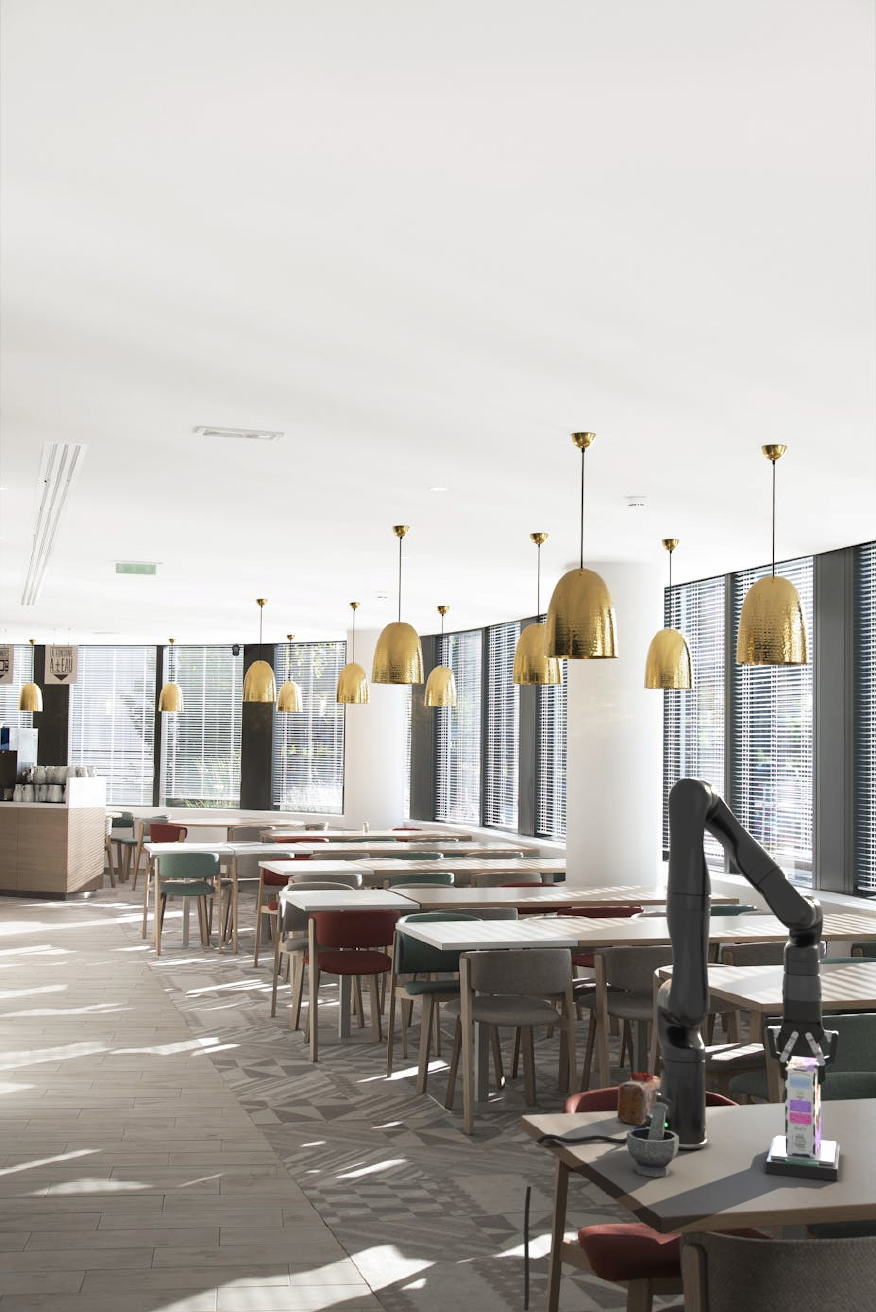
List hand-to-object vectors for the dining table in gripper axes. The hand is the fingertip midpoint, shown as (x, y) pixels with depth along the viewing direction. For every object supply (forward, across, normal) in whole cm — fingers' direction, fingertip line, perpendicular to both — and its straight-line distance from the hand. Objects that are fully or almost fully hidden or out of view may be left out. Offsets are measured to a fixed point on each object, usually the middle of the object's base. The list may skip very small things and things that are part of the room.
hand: (803, 1082), depth 250 cm
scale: (+15, 0, +1) cm, 15 cm away
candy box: (+13, 0, 0) cm, 13 cm away
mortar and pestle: (+16, +27, +17) cm, 35 cm away
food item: (+16, +36, -22) cm, 45 cm away
